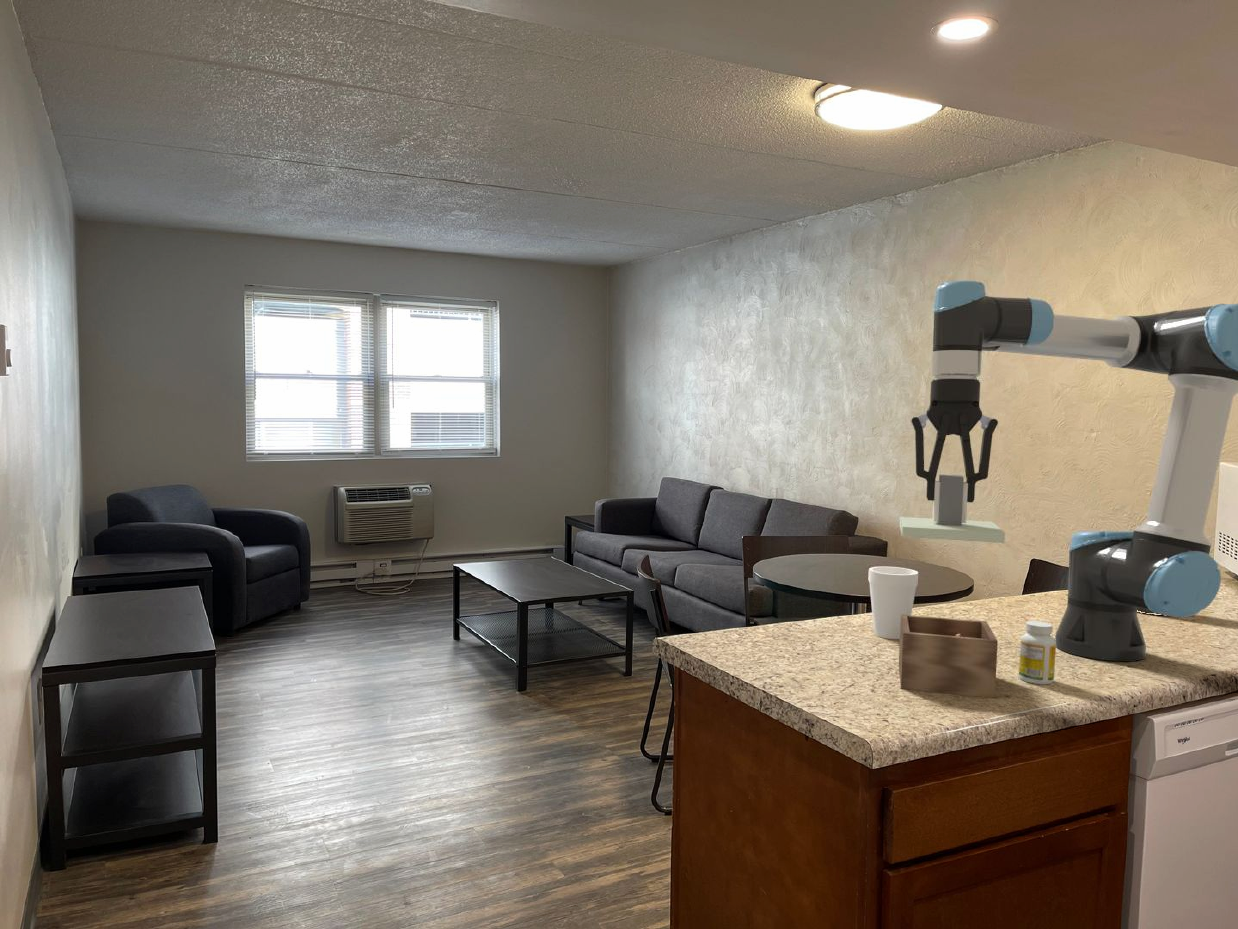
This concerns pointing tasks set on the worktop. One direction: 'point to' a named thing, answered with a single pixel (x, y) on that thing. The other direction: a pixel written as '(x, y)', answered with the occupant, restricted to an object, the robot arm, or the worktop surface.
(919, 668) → the box
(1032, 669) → the supplement bottle
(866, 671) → the worktop surface
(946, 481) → the lid
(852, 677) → the worktop surface
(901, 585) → the foam cup
